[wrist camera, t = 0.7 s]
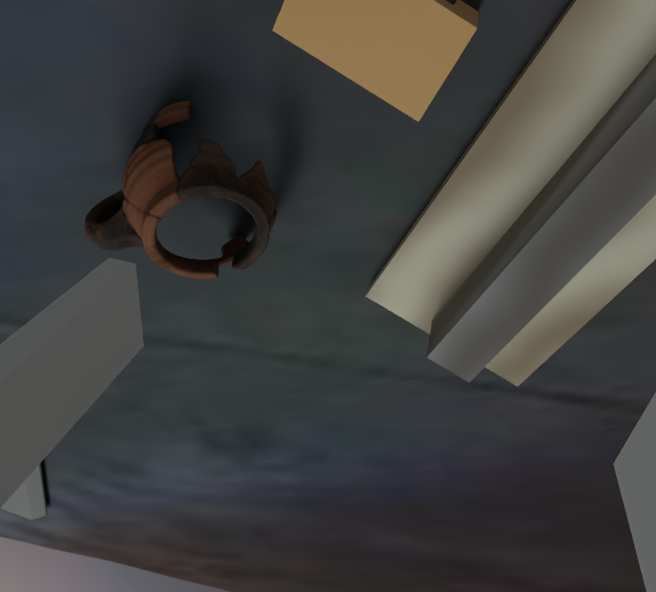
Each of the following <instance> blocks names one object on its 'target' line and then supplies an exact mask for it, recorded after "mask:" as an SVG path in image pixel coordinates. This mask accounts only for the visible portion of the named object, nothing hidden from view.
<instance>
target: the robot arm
mask: <svg viewBox="0 0 656 592" xmlns="http://www.w3.org/2000/svg"><path fill="white" fill-rule="evenodd" d="M143 346H144V344H143V334H142V324H141V314H140V304H139V294H138V284H137V274H136V264H134V263H129V262H125V261H120V260H116V259H112V258H108V259H107V260H106V261H105V262H103V263H102V264H101V265H100V266H98V267H97V268H96V269H94V270H93V271H92V272H91V273H89V274H88V275H87V276H86V277H84V278H83V279H82V280H81V281H79V282H78V283H77V284H76V285H74V286H73V287H72V288H71V289H69V290H68V291H67V292H65V293H64V294H63V295H62V296H60V297H59V298H58V299H57V300H55V301H54V302H53V303H52V304H50V305H49V306H48V307H47V308H45V309H44V310H43V311H42V312H40V313H39V314H38V315H36V316H35V317H34V318H33V319H31V320H30V321H29V322H28V323H26V324H25V325H24V326H23V327H21V328H20V329H19V330H18V331H16V332H15V333H14V334H13V335H11V336H10V337H9V338H7V339H6V340H5V341H4V342H2V343H1V344H0V508H1V507H2V506H3V505H4V504H5V503H6V501H7V500H8V499H9V498H10V497H11V496H12V495H13V493H14V492H15V491H16V490H17V489H18V488H19V487H20V486H21V484H22V483H23V482H24V481H25V480H26V479H27V478H28V476H29V475H30V474H31V473H32V472H33V471H34V470H35V469H36V467H37V466H38V465H39V464H40V463H41V462H42V461H43V459H44V458H45V457H46V456H47V455H48V454H49V453H50V452H51V450H52V449H53V448H54V447H55V446H56V445H57V444H58V442H59V441H60V440H61V439H62V438H63V437H64V436H65V435H66V433H67V432H68V431H69V430H70V429H71V428H72V427H73V425H74V424H75V423H76V422H77V421H78V420H79V419H80V418H81V416H82V415H83V414H84V413H85V412H86V411H87V410H88V408H89V407H90V406H91V405H92V404H93V403H94V402H95V401H96V399H97V398H98V397H99V396H100V395H101V394H102V393H103V391H104V390H105V389H106V388H107V387H108V386H109V385H110V384H111V382H112V381H113V380H114V379H115V378H116V377H117V376H118V374H119V373H120V372H121V371H122V370H123V369H124V368H125V367H126V365H127V364H128V363H129V362H130V361H131V360H132V359H133V357H134V356H135V355H136V354H137V353H138V352H139V351H140V350H141V348H142V347H143ZM614 468H615V472H616V475H617V479H618V483H619V487H620V491H621V495H622V499H623V502H624V506H625V510H626V514H627V518H628V522H629V526H630V529H631V533H632V537H633V541H634V545H635V549H636V553H637V556H638V560H639V564H640V568H641V572H642V576H643V580H644V583H645V587H646V591H647V592H656V393H655V394H654V396H653V398H652V399H651V401H650V403H649V404H648V406H647V408H646V410H645V411H644V413H643V415H642V416H641V418H640V420H639V421H638V423H637V425H636V426H635V428H634V430H633V432H632V433H631V435H630V437H629V438H628V440H627V442H626V443H625V445H624V447H623V448H622V450H621V452H620V454H619V455H618V457H617V459H616V460H615V462H614Z"/></svg>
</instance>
